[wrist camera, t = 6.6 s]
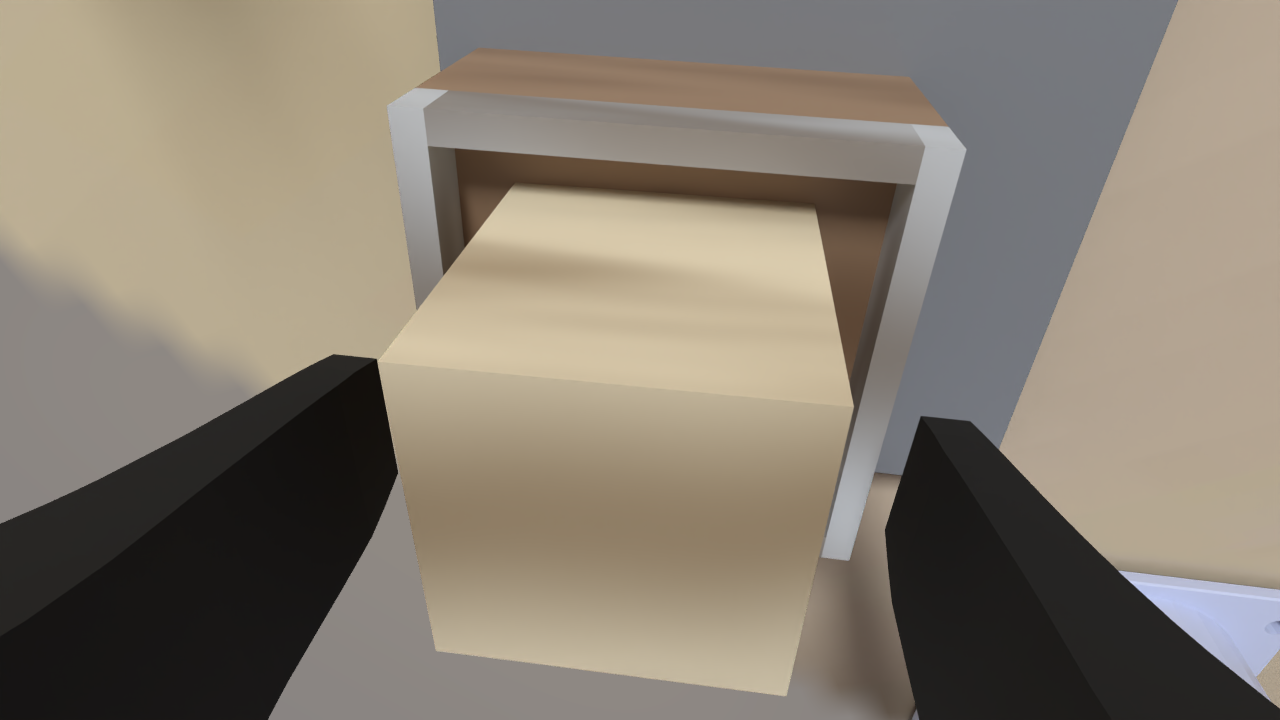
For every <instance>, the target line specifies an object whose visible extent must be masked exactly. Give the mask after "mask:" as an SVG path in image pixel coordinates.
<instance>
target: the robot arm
mask: <svg viewBox="0 0 1280 720" xmlns="http://www.w3.org/2000/svg"><path fill="white" fill-rule="evenodd" d="M397 474H398V469H397V464H396V459H395V454H394V448H393V443H392V438H391V432H390V427H389V422H388V417H387V411H386V406H385V401H384V395H383V390H382V385H381V380H380V374H379V369H378V364H377V359H373V358H364V357H354V356H345V355H335V354H333V355H331V356H329V357H327V358H325V359H323V360H321V361H318V362H317V363H315V364H313V365H311V366H309V367H307V368H305V369H303V370H301V371H299V372H297V373H296V374H294V375H292V376H290V377H288V378H286V379H285V380H283V381H281V382H279V383H278V384H276V385H274V386H272V387H270V388H269V389H267V390H265V391H263V392H262V393H260V394H258V395H256V396H254V397H253V398H251V399H249V400H247V401H246V402H244V403H242V404H240V405H238V406H237V407H235V408H233V409H231V410H229V411H228V412H226V413H224V414H222V415H220V416H219V417H217V418H215V419H213V420H211V421H210V422H208V423H206V424H204V425H203V426H201V427H199V428H197V429H196V430H194V431H192V432H190V433H188V434H186V435H184V436H182V437H180V438H179V439H177V440H175V441H173V442H171V443H169V444H167V445H165V446H163V447H161V448H159V449H157V450H155V451H153V452H151V453H150V454H148V455H146V456H144V457H142V458H140V459H138V460H136V461H134V462H132V463H130V464H128V465H126V466H124V467H122V468H120V469H118V470H116V471H115V472H112V473H111V474H109V475H107V476H105V477H103V478H101V479H99V480H97V481H95V482H92V483H91V484H88V485H86V486H84V487H82V488H80V489H78V490H76V491H74V492H72V493H69V494H67V495H65V496H63V497H61V498H59V499H56V500H54V501H52V502H50V503H47V504H45V505H43V506H41V507H38V508H36V509H34V510H31V511H29V512H27V513H24V514H22V515H20V516H17V517H15V518H13V519H10V520H8V521H6V522H4V523H1V524H0V720H268V718H269V716H270V714H271V712H272V711H273V709H274V707H275V705H276V703H277V701H278V699H279V697H280V696H281V694H282V692H283V690H284V688H285V686H286V684H287V682H288V680H289V679H290V677H291V676H292V673H293V672H294V670H295V669H296V667H297V665H298V663H299V662H300V660H301V658H302V657H303V655H304V653H305V652H306V650H307V648H308V646H309V645H310V643H311V641H312V639H313V638H314V636H315V634H316V633H317V631H318V629H319V628H320V626H321V624H322V622H323V621H324V619H325V617H326V616H327V614H328V612H329V611H330V609H331V607H332V605H333V604H334V601H335V600H336V599H337V597H338V595H339V594H340V592H341V590H342V588H343V587H344V585H345V583H346V581H347V580H348V578H349V576H350V574H351V573H352V571H353V569H354V568H355V566H356V564H357V562H358V561H359V558H360V557H361V555H362V554H363V552H364V550H365V548H366V546H367V544H368V543H369V541H370V539H371V537H372V535H373V533H374V531H375V528H376V526H377V524H378V521H379V519H380V517H381V514H382V512H383V510H384V507H385V505H386V502H387V500H388V497H389V495H390V492H391V490H392V487H393V485H394V482H395V479H396V477H397ZM885 536H886V548H887V560H888V571H889V580H890V589H891V598H892V604H893V609H894V613H895V618H896V623H897V627H898V631H899V636H900V640H901V645H902V649H903V653H904V658H905V662H906V666H907V671H908V675H909V679H910V683H911V688H912V692H913V696H914V700H915V705H916V711H915V713H914V715H913V718H912V720H1280V708H1278V707H1277V706H1276V705H1274V704H1273V703H1272V702H1271V701H1270V699H1269V697H1268V696H1267V694H1266V693H1265V691H1264V689H1263V688H1262V686H1261V685H1260V683H1259V682H1258V680H1257V678H1256V677H1257V675H1258V674H1259V673H1260V672H1261V671H1262V670H1263V668H1264V667H1265V666H1266V665H1267V664H1268V662H1269V661H1270V660H1271V659H1272V658H1273V656H1274V655H1275V654H1276V653H1277V652H1278V650H1279V649H1280V590H1277V589H1269V588H1260V587H1252V586H1244V585H1235V584H1227V583H1218V582H1210V581H1202V580H1193V579H1185V578H1176V577H1168V576H1160V575H1151V574H1143V573H1134V572H1126V571H1118V570H1117V569H1116V568H1115V567H1114V566H1113V565H1111V564H1110V563H1109V562H1108V561H1107V560H1106V559H1105V558H1104V557H1103V556H1102V555H1101V554H1100V553H1099V552H1098V551H1097V550H1096V549H1095V548H1094V547H1093V546H1092V545H1091V544H1090V543H1089V542H1088V541H1087V540H1086V539H1085V538H1084V537H1083V536H1082V535H1081V534H1080V533H1079V532H1078V531H1077V530H1076V529H1075V528H1074V527H1073V526H1072V525H1071V524H1070V523H1069V522H1068V521H1067V520H1066V519H1065V518H1064V517H1063V516H1062V515H1061V514H1060V513H1059V512H1058V511H1057V510H1056V509H1055V508H1054V507H1053V506H1052V505H1051V504H1050V503H1049V502H1048V501H1047V500H1046V499H1045V498H1044V497H1043V496H1042V495H1041V494H1040V493H1039V492H1038V490H1037V489H1036V488H1035V487H1034V486H1033V485H1032V484H1031V483H1030V482H1029V481H1028V480H1027V479H1026V478H1025V477H1024V476H1023V475H1022V474H1021V473H1020V472H1019V471H1018V470H1017V468H1016V467H1015V466H1014V465H1013V464H1012V463H1011V462H1010V461H1009V460H1008V459H1007V458H1006V457H1005V456H1004V455H1003V454H1002V453H1001V452H1000V451H999V450H998V448H997V447H996V446H995V445H994V444H993V443H992V442H991V441H990V440H989V439H988V438H987V437H986V436H985V435H984V434H983V433H982V432H981V431H980V430H979V429H978V428H977V427H976V426H975V425H974V424H973V423H972V422H971V421H965V420H956V419H946V418H937V417H927V416H921V417H920V420H919V423H918V426H917V429H916V433H915V436H914V439H913V442H912V445H911V448H910V452H909V455H908V458H907V461H906V464H905V468H904V471H903V474H902V477H901V480H900V484H899V487H898V490H897V493H896V496H895V499H894V503H893V506H892V509H891V512H890V515H889V519H888V522H887V525H886V528H885Z"/></svg>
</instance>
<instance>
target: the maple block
mask: <svg viewBox="0 0 1280 720" xmlns="http://www.w3.org/2000/svg"><path fill="white" fill-rule="evenodd" d="M378 366H379V371H380V376H381V381H382V386H383V391H384V395H385V400H386V405H387V410H388V415H389V420H390V425H391V430H392V435H393V440H394V445H395V450H396V455H397V460H398V465H399V470H400V475H401V480H402V485H403V489H404V495H405V500H406V504H407V509H408V514H409V519H410V524H411V529H412V534H413V539H414V544H415V549H416V554H417V559H418V564H419V569H420V574H421V579H422V584H423V589H424V593H425V599H426V604H427V608H428V613H429V618H430V623H431V628H432V633H433V638H434V643H435V648H436V651H442V652H450V653H457V654H465V655H473V656H480V657H488V658H496V659H503V660H511V661H519V662H526V663H534V664H542V665H550V666H557V667H565V668H573V669H581V670H588V671H595V672H603V673H611V674H619V675H626V676H634V677H641V678H649V679H657V680H665V681H672V682H680V683H688V684H695V685H703V686H711V687H719V688H726V689H733V690H742V691H749V692H756V693H764V694H772V695H779V696H787V691H788V687H789V683H790V678H791V674H792V670H793V666H794V661H795V657H796V653H797V648H798V644H799V640H800V636H801V631H802V627H803V623H804V619H805V614H806V610H807V606H808V601H809V597H810V593H811V589H812V584H813V580H814V576H815V571H816V567H817V563H818V559H819V554H820V550H821V546H822V541H823V537H824V533H825V529H826V524H827V520H828V516H829V512H830V507H831V503H832V499H833V494H834V490H835V486H836V482H837V477H838V473H839V469H840V464H841V460H842V456H843V452H844V447H845V443H846V439H847V434H848V430H849V426H850V422H851V417H852V413H853V409H854V405H853V400H852V395H851V389H850V384H849V379H848V374H847V369H846V364H845V359H844V353H843V348H842V343H841V338H840V333H839V328H838V322H837V317H836V312H835V307H834V302H833V297H832V291H831V286H830V281H829V276H828V271H827V266H826V261H825V255H824V250H823V245H822V240H821V235H820V230H819V224H818V219H817V214H816V209H815V204H809V203H795V202H781V201H767V200H753V199H739V198H725V197H711V196H697V195H683V194H669V193H655V192H641V191H627V190H613V189H599V188H585V187H571V186H557V185H543V184H529V183H514V185H513V186H512V187H511V189H510V190H509V191H508V193H507V194H506V195H505V196H504V198H503V199H502V200H501V202H500V203H499V204H498V206H497V207H496V208H495V209H494V211H493V212H492V213H491V215H490V216H489V217H488V219H487V220H486V221H485V222H484V224H483V225H482V226H481V228H480V229H479V230H478V232H477V233H476V234H475V236H474V237H473V238H472V239H471V241H470V242H469V243H468V245H467V246H466V247H465V249H464V250H463V251H462V252H461V254H460V255H459V256H458V258H457V259H456V260H455V262H454V263H453V264H452V266H451V267H450V268H449V269H448V271H447V272H446V273H445V275H444V276H443V277H442V279H441V280H440V281H439V282H438V284H437V285H436V286H435V288H434V289H433V290H432V292H431V293H430V294H429V295H428V297H427V298H426V299H425V301H424V302H423V303H422V305H421V306H420V307H419V309H418V310H417V311H416V312H415V314H414V315H413V316H412V318H411V319H410V320H409V322H408V323H407V324H406V325H405V327H404V328H403V329H402V331H401V332H400V333H399V335H398V336H397V337H396V339H395V340H394V341H393V342H392V344H391V345H390V346H389V348H388V349H387V350H386V352H385V353H384V354H383V355H382V357H381V358H380V359H379V361H378Z"/></svg>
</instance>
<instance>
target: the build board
mask: <svg viewBox="0 0 1280 720" xmlns="http://www.w3.org/2000/svg"><path fill="white" fill-rule="evenodd" d="M1177 2H1178V0H433V4H434V14H435V23H436V33H437V42H438V52H439V61H440V71H443V70H444V69H446V68H447V67H449V66H450V65H452V64H454V63H455V62H457V61H458V60H460V59H461V58H463V57H465V56H466V55H468V54H469V53H471V52H473V51H474V50H476V49H477V48H491V49H506V50H521V51H535V52H550V53H565V54H580V55H594V56H609V57H624V58H639V59H653V60H668V61H683V62H698V63H712V64H727V65H742V66H757V67H771V68H786V69H801V70H816V71H830V72H845V73H860V74H875V75H889V76H904V77H910V78H911V79H912V81H913V82H914V83H915V85H916V86H917V87H918V88H919V90H920V91H921V92H922V93H923V95H924V96H925V97H926V99H927V100H928V101H929V102H930V104H931V105H932V106H933V107H934V109H935V110H936V111H937V113H938V114H939V115H940V116H941V118H942V119H943V120H944V121H945V123H946V124H947V125H948V126H949V128H950V129H951V130H952V132H953V133H954V134H955V135H956V137H957V138H958V139H959V140H960V142H961V143H962V144H963V146H964V147H965V148H966V149H967V150H966V153H965V157H964V160H963V164H962V167H961V171H960V174H959V178H958V181H957V185H956V188H955V192H954V195H953V199H952V202H951V206H950V209H949V213H948V216H947V220H946V223H945V227H944V230H943V234H942V237H941V241H940V244H939V248H938V251H937V255H936V258H935V262H934V265H933V269H932V272H931V276H930V279H929V283H928V286H927V290H926V293H925V297H924V300H923V304H922V307H921V311H920V314H919V318H918V321H917V325H916V328H915V332H914V335H913V339H912V343H911V346H910V350H909V353H908V357H907V360H906V364H905V367H904V371H903V374H902V378H901V381H900V385H899V388H898V392H897V395H896V399H895V402H894V406H893V409H892V413H891V416H890V420H889V423H888V427H887V430H886V434H885V437H884V441H883V444H882V448H881V451H880V455H879V458H878V462H877V465H876V469H875V472H878V473H887V474H896V475H902V474H903V471H904V468H905V464H906V461H907V458H908V455H909V452H910V448H911V445H912V442H913V439H914V436H915V433H916V429H917V426H918V423H919V420H920V417H921V416H927V417H937V418H946V419H956V420H965V421H971V422H972V423H973V424H974V425H975V426H976V427H977V428H978V429H979V430H980V431H981V432H982V433H983V434H984V435H985V436H986V437H987V438H988V439H989V440H990V441H991V442H992V443H993V444H994V445H995V446H996V447H997V448H998V449H999V447H1000V444H1001V442H1002V439H1003V437H1004V434H1005V432H1006V429H1007V427H1008V424H1009V422H1010V419H1011V417H1012V414H1013V412H1014V409H1015V407H1016V404H1017V402H1018V399H1019V397H1020V394H1021V392H1022V389H1023V387H1024V384H1025V382H1026V379H1027V377H1028V374H1029V372H1030V369H1031V367H1032V364H1033V362H1034V359H1035V357H1036V354H1037V352H1038V349H1039V347H1040V344H1041V342H1042V339H1043V337H1044V334H1045V332H1046V329H1047V327H1048V324H1049V322H1050V319H1051V317H1052V314H1053V312H1054V309H1055V307H1056V304H1057V302H1058V299H1059V297H1060V294H1061V292H1062V289H1063V287H1064V284H1065V282H1066V279H1067V277H1068V274H1069V272H1070V269H1071V267H1072V264H1073V262H1074V259H1075V257H1076V254H1077V252H1078V249H1079V247H1080V244H1081V242H1082V239H1083V237H1084V234H1085V232H1086V229H1087V227H1088V224H1089V222H1090V219H1091V217H1092V214H1093V212H1094V209H1095V207H1096V204H1097V202H1098V199H1099V197H1100V194H1101V192H1102V189H1103V187H1104V184H1105V182H1106V179H1107V177H1108V174H1109V172H1110V169H1111V167H1112V164H1113V162H1114V159H1115V157H1116V154H1117V152H1118V149H1119V147H1120V144H1121V142H1122V139H1123V137H1124V134H1125V132H1126V129H1127V127H1128V124H1129V122H1130V119H1131V117H1132V114H1133V112H1134V109H1135V107H1136V104H1137V102H1138V99H1139V97H1140V94H1141V92H1142V89H1143V87H1144V84H1145V82H1146V79H1147V77H1148V74H1149V72H1150V69H1151V67H1152V64H1153V62H1154V59H1155V57H1156V54H1157V52H1158V49H1159V47H1160V44H1161V42H1162V39H1163V37H1164V34H1165V32H1166V29H1167V27H1168V24H1169V22H1170V19H1171V17H1172V14H1173V12H1174V9H1175V7H1176V4H1177Z"/></svg>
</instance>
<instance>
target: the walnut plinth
mask: <svg viewBox="0 0 1280 720" xmlns="http://www.w3.org/2000/svg"><path fill="white" fill-rule="evenodd" d="M387 111H388V118H389V125H390V131H391V138H392V145H393V152H394V159H395V166H396V172H397V179H398V186H399V193H400V200H401V206H402V213H403V220H404V227H405V234H406V240H407V247H408V254H409V261H410V268H411V274H412V281H413V288H414V295H415V302H416V309H417V310H418V309H419V307H420V306H421V305H422V303H423V302H424V301H425V299H426V298H427V297H428V295H429V294H430V293H431V292H432V290H433V289H434V288H435V286H436V285H437V284H438V282H439V281H440V280H441V279H442V277H443V276H444V275H445V273H446V272H447V271H448V269H449V268H450V267H451V266H452V264H453V263H454V262H455V260H456V259H457V258H458V256H459V255H460V254H461V252H462V251H463V250H464V249H465V247H466V246H467V245H468V243H469V242H470V241H471V239H472V238H473V237H474V236H475V234H476V233H477V232H478V230H479V229H480V228H481V226H482V225H483V224H484V222H485V221H486V220H487V219H488V217H489V216H490V215H491V213H492V212H493V211H494V209H495V208H496V207H497V206H498V204H499V203H500V202H501V200H502V199H503V198H504V196H505V195H506V194H507V193H508V191H509V190H510V189H511V187H512V186H513V185H514V183H529V184H543V185H557V186H571V187H585V188H599V189H613V190H627V191H641V192H655V193H669V194H683V195H697V196H711V197H725V198H739V199H753V200H767V201H781V202H795V203H809V204H815V209H816V214H817V219H818V224H819V230H820V235H821V240H822V245H823V250H824V255H825V261H826V266H827V271H828V276H829V281H830V286H831V291H832V297H833V302H834V307H835V312H836V317H837V322H838V328H839V333H840V338H841V343H842V348H843V353H844V359H845V364H846V369H847V374H848V379H849V384H850V389H851V395H852V400H853V405H854V409H853V413H852V417H851V422H850V426H849V430H848V434H847V439H846V443H845V447H844V452H843V456H842V460H841V464H840V469H839V473H838V477H837V482H836V486H835V490H834V494H833V499H832V503H831V507H830V512H829V516H828V520H827V524H826V529H825V533H824V537H823V541H822V546H821V550H820V554H819V557H822V558H831V559H839V560H847V561H849V560H850V556H851V553H852V549H853V546H854V542H855V539H856V535H857V532H858V528H859V525H860V521H861V518H862V514H863V511H864V507H865V504H866V500H867V497H868V493H869V490H870V486H871V483H872V479H873V476H874V472H875V469H876V465H877V462H878V458H879V455H880V451H881V448H882V444H883V441H884V437H885V434H886V430H887V427H888V423H889V420H890V416H891V413H892V409H893V406H894V402H895V399H896V395H897V392H898V388H899V385H900V381H901V378H902V374H903V371H904V367H905V364H906V360H907V357H908V353H909V350H910V346H911V343H912V339H913V335H914V332H915V328H916V325H917V321H918V318H919V314H920V311H921V307H922V304H923V300H924V297H925V293H926V290H927V286H928V283H929V279H930V276H931V272H932V269H933V265H934V262H935V258H936V255H937V251H938V248H939V244H940V241H941V237H942V234H943V230H944V227H945V223H946V220H947V216H948V213H949V209H950V206H951V202H952V199H953V195H954V192H955V188H956V185H957V181H958V178H959V174H960V171H961V167H962V164H963V160H964V157H965V153H966V150H967V149H966V148H965V147H964V146H963V144H962V143H961V142H960V140H959V139H958V138H957V137H956V135H955V134H954V133H953V132H952V130H951V129H950V128H949V126H948V125H947V124H946V123H945V121H944V120H943V119H942V118H941V116H940V115H939V114H938V113H937V111H936V110H935V109H934V107H933V106H932V105H931V104H930V102H929V101H928V100H927V99H926V97H925V96H924V95H923V93H922V92H921V91H920V90H919V88H918V87H917V86H916V85H915V83H914V82H913V81H912V79H911V78H910V77H904V76H889V75H875V74H860V73H845V72H830V71H816V70H801V69H786V68H771V67H757V66H742V65H727V64H712V63H698V62H683V61H668V60H653V59H639V58H624V57H609V56H594V55H580V54H565V53H550V52H535V51H521V50H506V49H491V48H477V49H476V50H474V51H473V52H471V53H469V54H468V55H466V56H465V57H463V58H461V59H460V60H458V61H457V62H455V63H454V64H452V65H450V66H449V67H447V68H446V69H444V70H443V71H441V72H439V73H438V74H436V75H435V76H433V77H431V78H430V79H428V80H427V81H425V82H424V83H422V84H420V85H419V86H417V87H416V88H414V89H413V90H411V91H409V92H408V93H406V94H405V95H403V96H401V97H400V98H398V99H397V100H395V101H394V102H392V103H390V104H389V105H387Z"/></svg>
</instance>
